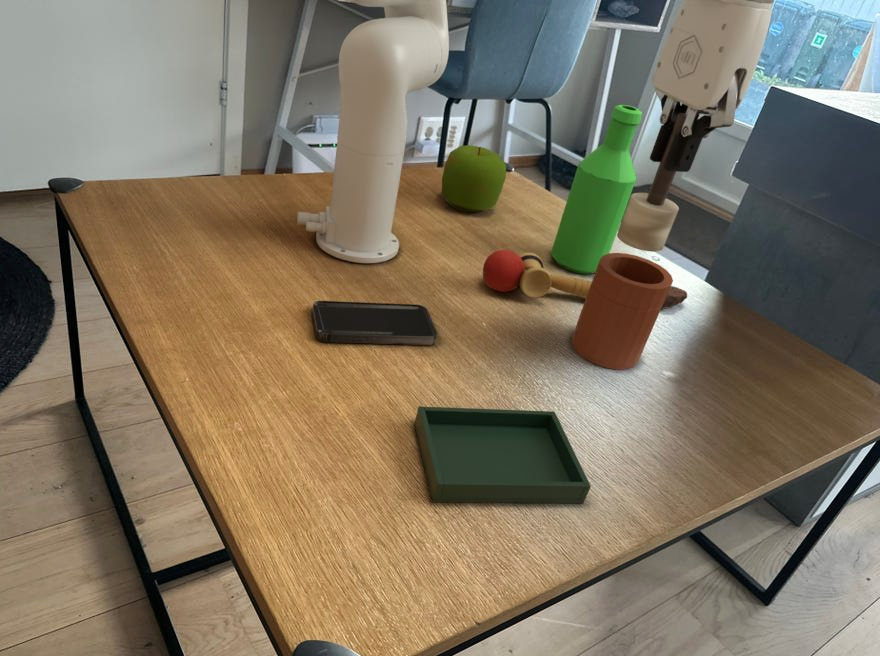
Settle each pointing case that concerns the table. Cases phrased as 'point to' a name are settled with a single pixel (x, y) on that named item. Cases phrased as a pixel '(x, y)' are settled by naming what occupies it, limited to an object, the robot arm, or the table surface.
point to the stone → (674, 297)
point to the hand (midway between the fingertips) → (669, 164)
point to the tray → (498, 456)
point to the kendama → (527, 275)
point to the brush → (652, 207)
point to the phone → (373, 323)
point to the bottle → (598, 197)
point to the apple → (473, 178)
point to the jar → (620, 310)
